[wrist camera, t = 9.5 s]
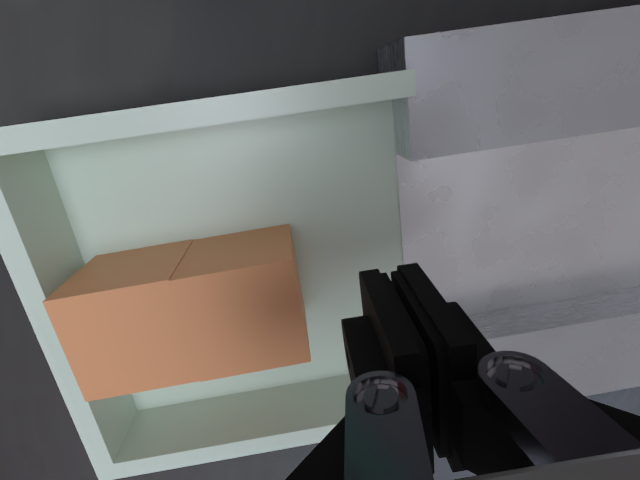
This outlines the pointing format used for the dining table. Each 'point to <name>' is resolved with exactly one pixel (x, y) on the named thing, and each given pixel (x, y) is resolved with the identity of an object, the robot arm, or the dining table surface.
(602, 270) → the slotted block
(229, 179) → the tray
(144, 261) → the chip
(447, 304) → the robot arm
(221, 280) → the chip
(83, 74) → the dining table surface
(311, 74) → the dining table surface
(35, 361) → the dining table surface
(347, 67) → the dining table surface
